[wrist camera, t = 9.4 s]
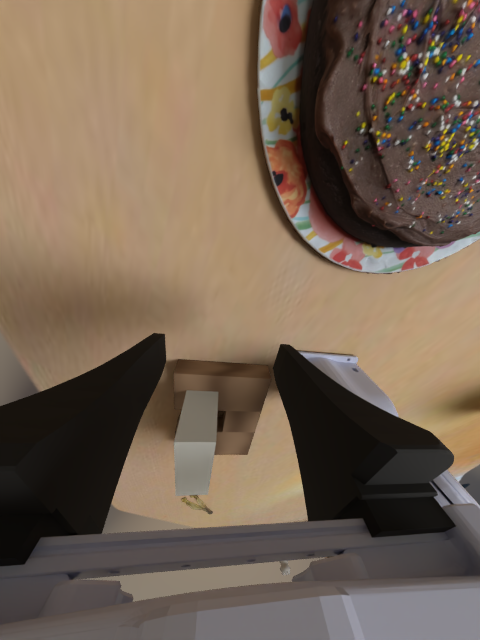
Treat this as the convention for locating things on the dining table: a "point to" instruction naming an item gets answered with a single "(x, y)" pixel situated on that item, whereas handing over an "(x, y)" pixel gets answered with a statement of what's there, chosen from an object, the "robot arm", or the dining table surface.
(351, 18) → the chocolate cake
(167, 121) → the dining table surface
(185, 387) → the notched shelf
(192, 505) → the tongs
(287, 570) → the rook chess piece
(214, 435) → the grey rubber bar
